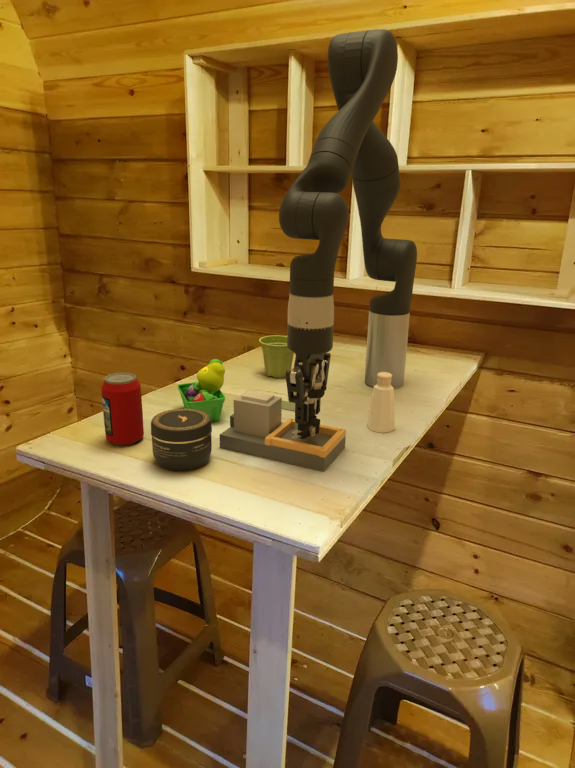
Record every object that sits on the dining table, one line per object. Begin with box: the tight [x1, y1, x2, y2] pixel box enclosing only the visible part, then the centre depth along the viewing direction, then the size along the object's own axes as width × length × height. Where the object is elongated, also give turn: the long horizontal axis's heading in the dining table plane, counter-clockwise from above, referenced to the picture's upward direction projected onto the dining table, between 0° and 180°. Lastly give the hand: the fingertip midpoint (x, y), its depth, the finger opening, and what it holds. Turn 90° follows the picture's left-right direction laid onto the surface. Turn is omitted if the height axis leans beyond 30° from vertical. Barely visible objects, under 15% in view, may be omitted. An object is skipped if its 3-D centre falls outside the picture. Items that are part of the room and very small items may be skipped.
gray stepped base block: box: [219, 390, 347, 472], centre depth 103 cm, size 10×20×9 cm, turn 65°
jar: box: [150, 408, 213, 472], centre depth 98 cm, size 10×10×8 cm
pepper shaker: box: [366, 372, 396, 434], centre depth 112 cm, size 5×5×11 cm
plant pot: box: [258, 335, 295, 379], centre depth 142 cm, size 9×9×9 cm
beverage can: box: [100, 372, 145, 446], centre depth 105 cm, size 7×7×12 cm
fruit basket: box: [176, 358, 226, 423], centre depth 117 cm, size 11×9×11 cm
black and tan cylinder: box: [292, 378, 327, 439], centre depth 100 cm, size 7×5×10 cm
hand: (307, 417), depth 101 cm, fingers closed on black and tan cylinder, 4 cm apart
